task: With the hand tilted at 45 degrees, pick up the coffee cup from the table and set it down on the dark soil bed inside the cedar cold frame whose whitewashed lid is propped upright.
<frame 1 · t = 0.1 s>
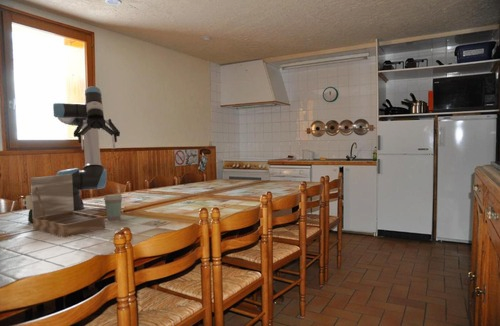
hand: (98, 147, 158), 36 cm above the table, tool tilted 35°, fingers open, 13 cm apart
coffee cup: (113, 219, 168), on the table
character mug: (35, 222, 165), on the table
cold frame: (69, 228, 151), on the table
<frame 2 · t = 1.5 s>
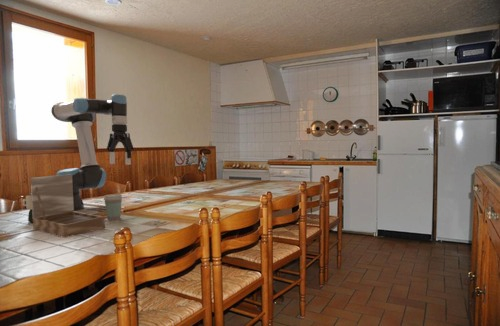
hand: (120, 164, 180), 27 cm above the table, tool pointing down, fingers open, 13 cm apart
nothing on the table moved.
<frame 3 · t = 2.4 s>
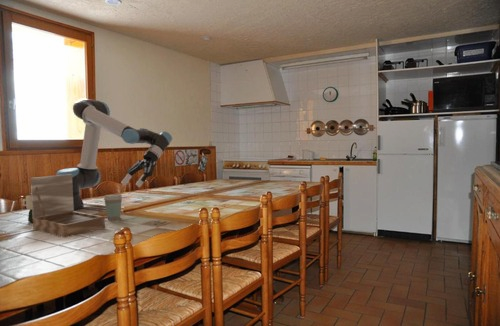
hand: (129, 185, 175), 16 cm above the table, tool tilted 45°, fingers open, 13 cm apart
nothing on the table moved.
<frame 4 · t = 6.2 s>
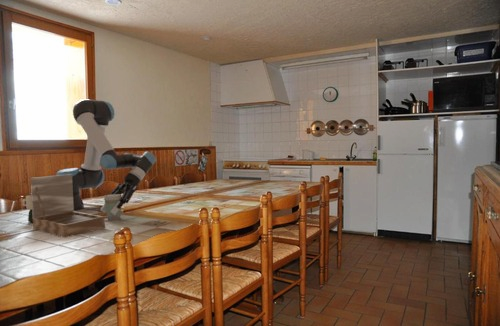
hand: (107, 212, 166), 4 cm above the table, tool tilted 45°, fingers closed on coffee cup, 8 cm apart
coffee cup: (114, 219, 168), on the table, touching gripper
everything else where it was.
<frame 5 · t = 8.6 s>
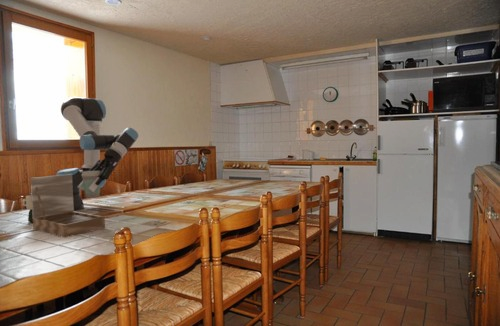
hand: (85, 189, 154), 17 cm above the table, tool tilted 45°, fingers closed on coffee cup, 8 cm apart
coffee cup: (92, 197, 157), point 13 cm above the table, touching gripper
everything else where it was.
when the fingers open (9 cm above the table, at t = 11.1 s): coffee cup drops 1 cm, resting on cold frame.
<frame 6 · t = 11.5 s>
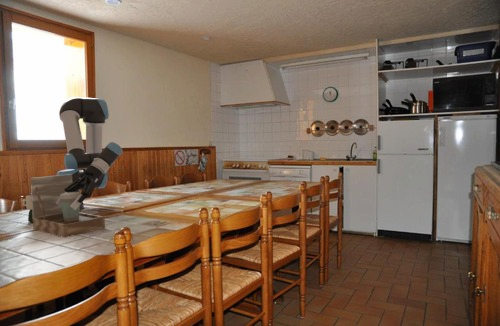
hand: (65, 206, 147), 10 cm above the table, tool tilted 45°, fingers open, 13 cm apart
coffee cup: (71, 220, 149), point 4 cm above the table, touching cold frame
everything else where it was.
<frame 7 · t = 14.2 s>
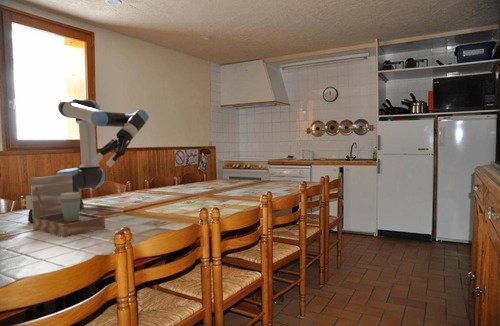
hand: (100, 164, 163), 27 cm above the table, tool tilted 45°, fingers open, 13 cm apart
nothing on the table moved.
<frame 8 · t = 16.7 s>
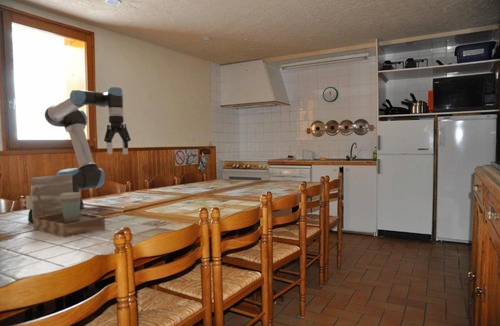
hand: (117, 154, 188), 32 cm above the table, tool pointing down, fingers open, 13 cm apart
nothing on the table moved.
at the end: coffee cup 2.0 cm from the cold frame (horizontally); coffee cup touching cold frame; coffee cup tilted 0° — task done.
